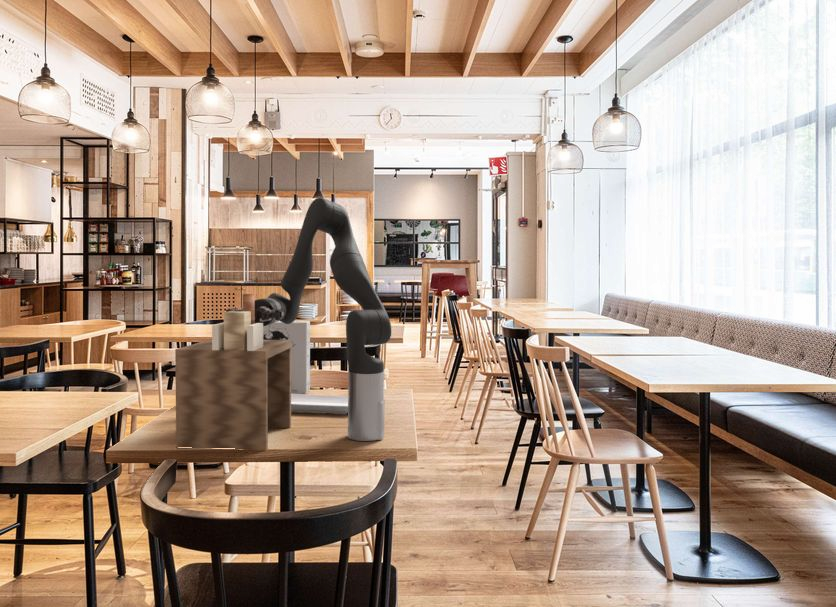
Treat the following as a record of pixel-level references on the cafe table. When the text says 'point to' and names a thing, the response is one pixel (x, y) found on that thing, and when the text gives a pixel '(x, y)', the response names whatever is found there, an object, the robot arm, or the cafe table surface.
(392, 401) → the cafe table surface
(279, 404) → the open wooden cabinet
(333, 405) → the tray
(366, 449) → the cafe table surface
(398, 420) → the cafe table surface
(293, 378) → the cereal box
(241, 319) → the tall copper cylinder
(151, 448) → the cafe table surface
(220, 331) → the upright cream panels
